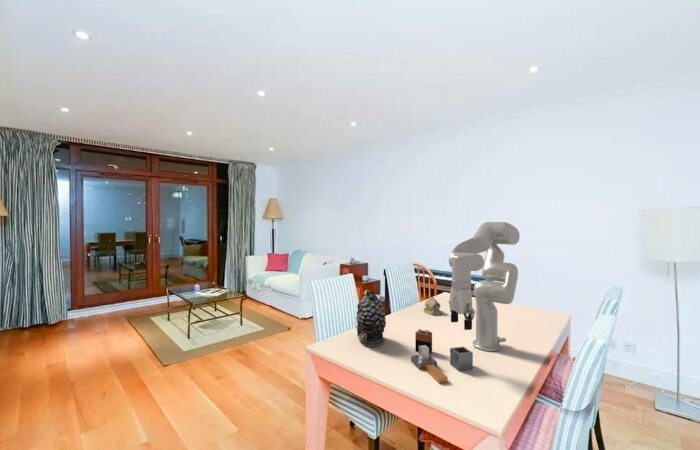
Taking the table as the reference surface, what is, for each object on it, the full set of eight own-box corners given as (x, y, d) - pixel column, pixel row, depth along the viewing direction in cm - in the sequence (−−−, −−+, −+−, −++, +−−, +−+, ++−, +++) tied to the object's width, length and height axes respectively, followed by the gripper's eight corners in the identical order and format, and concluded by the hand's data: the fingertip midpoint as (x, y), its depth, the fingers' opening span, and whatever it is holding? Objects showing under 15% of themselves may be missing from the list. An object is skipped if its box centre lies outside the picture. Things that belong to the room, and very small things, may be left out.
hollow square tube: (463, 362, 137) (463, 346, 137) (472, 369, 131) (472, 352, 131) (450, 364, 136) (450, 348, 136) (458, 371, 130) (458, 354, 130)
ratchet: (452, 381, 121) (452, 362, 121) (433, 384, 120) (433, 364, 119) (427, 359, 141) (427, 342, 141) (411, 361, 139) (411, 344, 139)
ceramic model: (420, 310, 216) (420, 295, 216) (435, 308, 219) (435, 294, 219) (431, 316, 203) (431, 300, 203) (446, 314, 206) (446, 299, 206)
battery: (429, 354, 146) (429, 333, 145) (415, 351, 149) (415, 330, 149) (432, 351, 149) (432, 330, 149) (418, 348, 153) (418, 327, 153)
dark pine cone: (351, 334, 171) (350, 288, 171) (377, 332, 175) (377, 286, 174) (362, 350, 151) (361, 297, 151) (392, 346, 155) (391, 295, 154)
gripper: (442, 281, 140) (442, 320, 140) (465, 289, 123) (465, 333, 124) (457, 280, 142) (457, 318, 142) (482, 288, 125) (482, 332, 125)
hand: (461, 325), depth 133 cm, fingers open, 9 cm apart
